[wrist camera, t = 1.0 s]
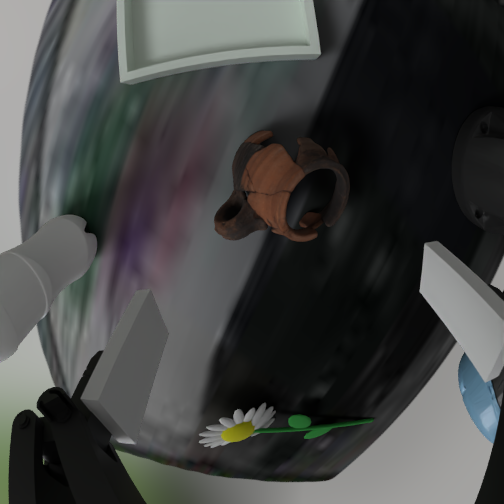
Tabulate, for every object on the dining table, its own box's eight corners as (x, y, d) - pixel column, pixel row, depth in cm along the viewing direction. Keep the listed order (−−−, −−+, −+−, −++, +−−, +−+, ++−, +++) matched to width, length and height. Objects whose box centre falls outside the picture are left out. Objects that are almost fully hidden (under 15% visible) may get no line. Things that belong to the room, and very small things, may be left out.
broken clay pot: (279, 103, 25) (338, 124, 19) (316, 172, 32) (368, 206, 26) (178, 186, 26) (207, 233, 20) (233, 243, 32) (270, 293, 27)
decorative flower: (383, 387, 43) (200, 392, 38) (393, 409, 39) (200, 420, 34) (353, 424, 49) (197, 430, 44) (360, 443, 45) (197, 453, 40)
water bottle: (88, 275, 33) (-31, 433, 10) (49, 240, 31) (-89, 368, 8) (113, 235, 31) (-41, 408, 8) (69, 196, 29) (-108, 321, 6)
